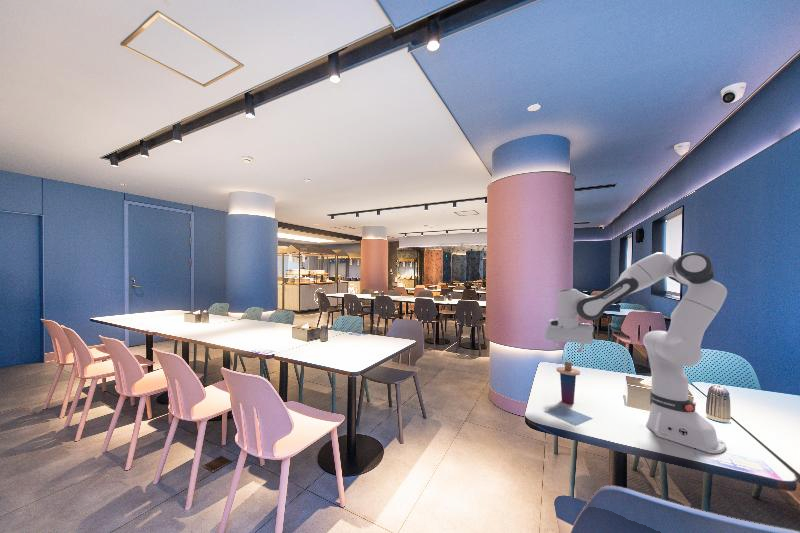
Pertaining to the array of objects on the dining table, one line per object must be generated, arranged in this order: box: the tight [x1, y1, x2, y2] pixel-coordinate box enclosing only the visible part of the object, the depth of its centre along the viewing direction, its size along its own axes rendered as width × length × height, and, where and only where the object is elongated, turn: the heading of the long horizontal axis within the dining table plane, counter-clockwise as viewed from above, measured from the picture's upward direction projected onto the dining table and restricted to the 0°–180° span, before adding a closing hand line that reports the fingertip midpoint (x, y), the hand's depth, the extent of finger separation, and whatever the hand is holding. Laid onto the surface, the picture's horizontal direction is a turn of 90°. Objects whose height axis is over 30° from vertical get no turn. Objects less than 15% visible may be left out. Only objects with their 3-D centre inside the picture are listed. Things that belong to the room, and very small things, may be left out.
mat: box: [544, 405, 594, 427], centre depth 133 cm, size 14×13×1 cm
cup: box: [559, 373, 577, 405], centre depth 147 cm, size 7×7×15 cm
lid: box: [556, 360, 581, 376], centre depth 147 cm, size 10×10×5 cm
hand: (568, 350), depth 147 cm, fingers open, 8 cm apart
